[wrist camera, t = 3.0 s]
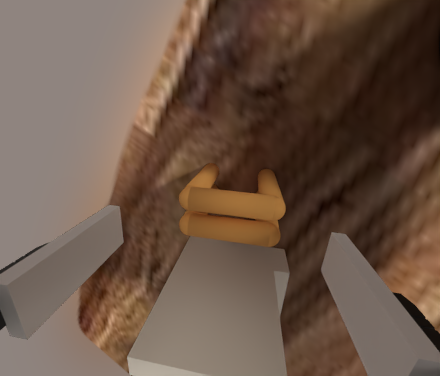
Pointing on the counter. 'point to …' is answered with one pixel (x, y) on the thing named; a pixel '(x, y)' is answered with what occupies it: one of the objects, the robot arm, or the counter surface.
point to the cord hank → (232, 210)
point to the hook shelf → (216, 314)
